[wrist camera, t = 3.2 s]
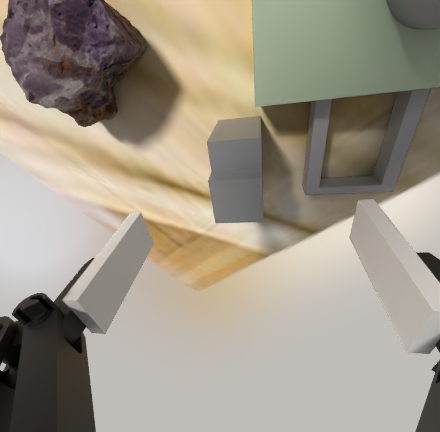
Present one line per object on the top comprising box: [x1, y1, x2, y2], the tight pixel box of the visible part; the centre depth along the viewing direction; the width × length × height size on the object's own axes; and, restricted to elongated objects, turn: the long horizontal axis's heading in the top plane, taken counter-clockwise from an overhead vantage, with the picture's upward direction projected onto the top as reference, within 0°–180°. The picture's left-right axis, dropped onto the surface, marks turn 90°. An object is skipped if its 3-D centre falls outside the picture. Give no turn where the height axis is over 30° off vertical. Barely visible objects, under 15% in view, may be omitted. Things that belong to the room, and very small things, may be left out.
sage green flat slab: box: [252, 0, 440, 195], centre depth 19 cm, size 22×26×9 cm
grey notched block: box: [207, 116, 263, 223], centre depth 25 cm, size 5×8×10 cm, turn 7°
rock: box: [0, 0, 146, 127], centre depth 22 cm, size 12×9×10 cm
